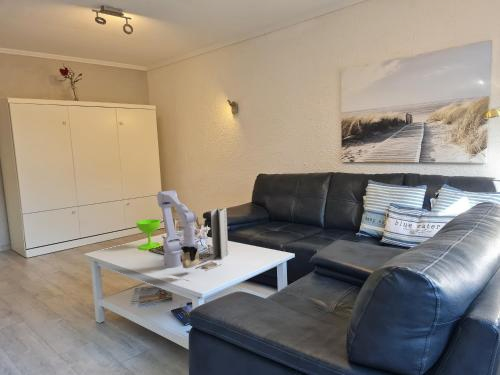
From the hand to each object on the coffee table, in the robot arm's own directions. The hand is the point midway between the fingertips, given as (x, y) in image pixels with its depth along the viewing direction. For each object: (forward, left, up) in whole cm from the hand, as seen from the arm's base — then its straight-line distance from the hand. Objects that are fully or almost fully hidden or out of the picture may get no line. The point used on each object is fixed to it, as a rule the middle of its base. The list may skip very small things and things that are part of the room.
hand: (190, 260), depth 192 cm
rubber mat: (0, 0, -9) cm, 9 cm away
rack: (-3, +14, -9) cm, 17 cm away
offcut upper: (-1, +15, -8) cm, 16 cm away
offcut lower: (-1, +14, -8) cm, 16 cm away
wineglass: (-69, +25, -9) cm, 74 cm away
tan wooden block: (0, 0, -3) cm, 3 cm away
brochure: (-9, +33, -9) cm, 35 cm away
